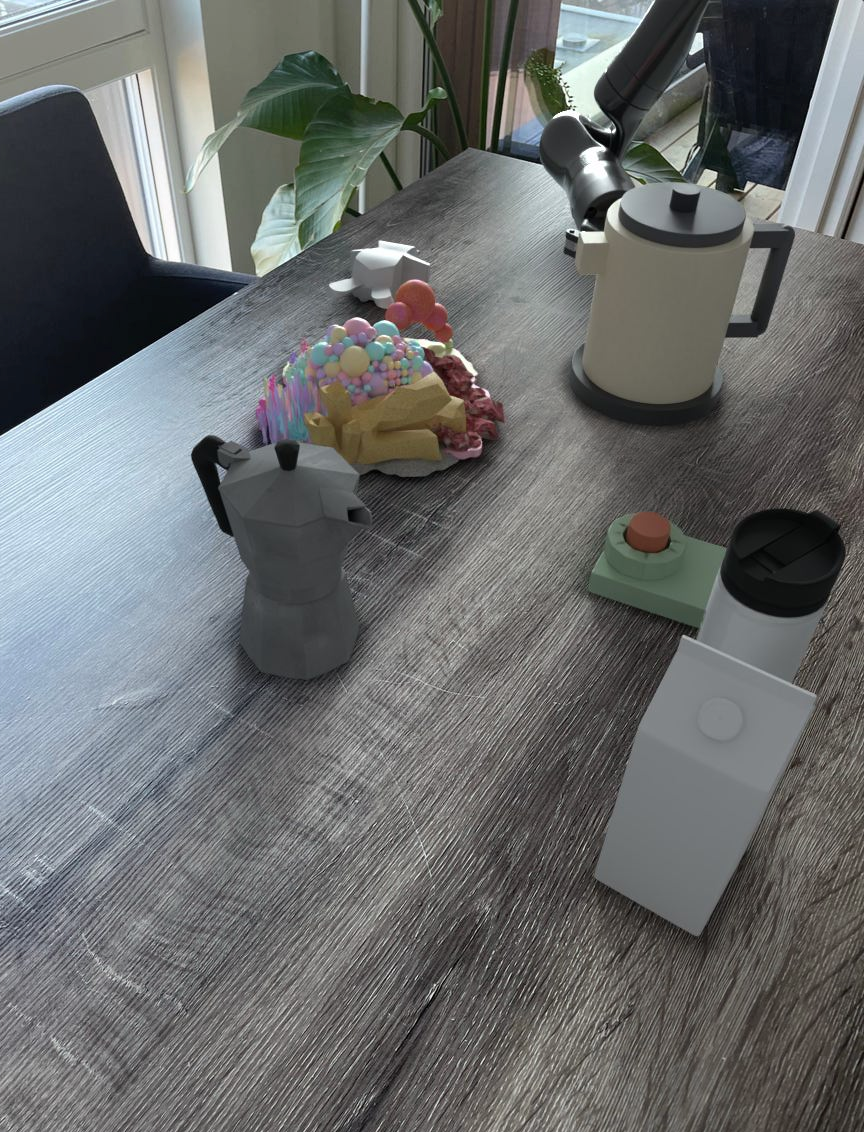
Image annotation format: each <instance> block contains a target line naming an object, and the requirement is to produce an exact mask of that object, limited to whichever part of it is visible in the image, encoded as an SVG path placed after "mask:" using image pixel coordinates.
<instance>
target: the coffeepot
mask: <svg viewBox="0 0 864 1132" xmlns="http://www.w3.org/2000/svg"><path fill="white" fill-rule="evenodd" d="M190 458H191V463H192V464H193V467H194V469H195V471H196V474H197V476H198V479H199V482H200V483H201V486H202V488H203V491H204V494H205V496H206V499H207V501H208V504H209V506H210V508H211V511H212V513H213V515H214V517H215V520H216V522H217V525H218V528H219V529H220V531H221V532H223V533H224V534H225V535H228V536H230V537H232V538H234V541H235V544H236V548H237V550H238V554H239V557H240V560H241V562H242V563H243V565H244V566H245V567H246V569H247V570H248V574H247V577H246V580H245V584H244V592H243V602H242V612H241V621H240V631H239V639H238V642H239V644H240V646H241V647H242V649H243V650H244V651H245V653H246V655H247V656H248V659H250V660H251V661H252V662H253V664H254V665H255V666H256V668H257V669H258V670H259V672H260V673H263V674H266V675H273V676H276V677H280V678H287V679H294V680H304V681H308V680H312V679H314V678H317V677H320V676H323V675H325V674H328V673H329V672H331V671H333V670H335V669H337V668H339V667H340V666H343V665H344V664H346V663H349V661H350V660H351V659H350V658H351V656H352V653H353V651H354V649H355V645H356V641H357V640H358V635H359V633H360V630H361V628H360V624H359V620H358V615H357V612H356V608H355V607H356V606H355V604H354V600H353V595H352V591H351V587H350V584H349V579H348V576H347V575H348V574H347V572H346V571H345V569H344V568H343V566H342V565H343V563H344V561H345V558H346V555H347V552H348V548H349V543H350V542H351V541H352V540H353V538H354V537H355V535H356V534H358V533H359V531H361V530H369V529H370V528H371V527H372V525H373V513H372V511H371V510H370V509H369V508H368V507H367V505H366V504H365V503H364V502H363V501H362V500H361V499H360V498H359V497H358V496H357V495H358V488H359V483H360V477H361V475H359V474H358V473H357V472H356V471H355V470H354V469H353V468H352V467H351V466H350V465H349V464H348V463H347V462H346V461H345V460H344V459H343V457H342V456H341V455H340V454H339V453H338V452H337V451H336V450H335V449H334V448H332V447H325V446H318V445H311V444H305V443H298V442H296V441H295V440H289V439H284V440H281V441H278V442H276V443H273V444H272V443H270V444H268V445H267V446H266V445H264V446H262V447H258V448H256V449H252V450H250V451H249V449H248V447H246V446H244V445H242V444H239V443H237V442H235V441H233V440H229V442H227V441H226V440H223V439H222V438H221V437H219V436H217V435H214V434H207V435H206V436H205V437H203V438H202V439H201V440H200V441H199V442H198V443H197V444H195V445H194V447H193V448H192V451H191V454H190ZM217 465H218V466H219V467H220V468H222V469H223V470H225V471H226V473H225V475H224V477H222V480H221V479H220V473H219V469H218V467H217Z"/></svg>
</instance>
